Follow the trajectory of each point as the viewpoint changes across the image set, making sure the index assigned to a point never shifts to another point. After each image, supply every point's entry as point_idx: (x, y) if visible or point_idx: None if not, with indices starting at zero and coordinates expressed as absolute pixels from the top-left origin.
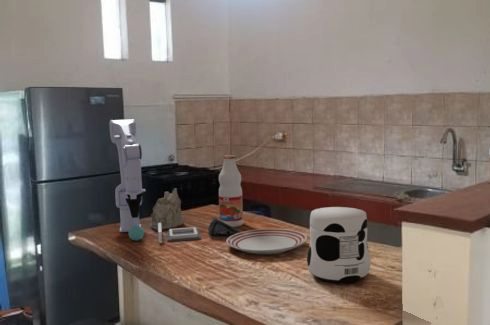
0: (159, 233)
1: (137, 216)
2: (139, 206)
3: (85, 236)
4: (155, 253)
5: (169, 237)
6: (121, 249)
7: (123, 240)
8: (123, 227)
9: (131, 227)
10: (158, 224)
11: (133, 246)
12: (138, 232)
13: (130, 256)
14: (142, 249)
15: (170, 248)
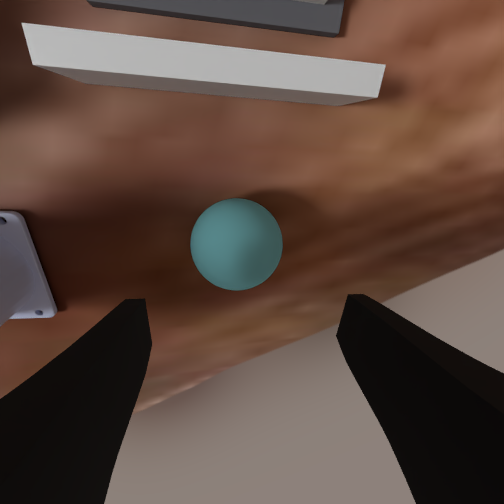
0: (373, 88)
1: (372, 303)
2: (107, 345)
3: None
4: (497, 140)
5: (277, 2)
6: (350, 282)
7: None
8: (17, 310)
9: (243, 287)
10: (104, 66)
11: (332, 239)
12: (280, 235)
13: (460, 246)
14: (399, 200)
15: (476, 38)
